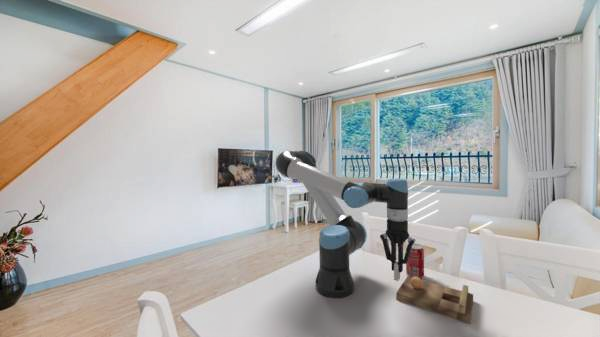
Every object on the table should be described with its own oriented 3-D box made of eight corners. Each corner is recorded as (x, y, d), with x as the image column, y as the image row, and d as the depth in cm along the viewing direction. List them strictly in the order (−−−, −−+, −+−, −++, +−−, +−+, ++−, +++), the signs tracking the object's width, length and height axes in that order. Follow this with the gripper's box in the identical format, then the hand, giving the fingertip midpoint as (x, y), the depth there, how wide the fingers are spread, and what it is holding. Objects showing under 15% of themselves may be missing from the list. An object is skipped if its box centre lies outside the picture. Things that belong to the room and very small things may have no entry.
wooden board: (396, 299, 89) (396, 285, 89) (407, 282, 101) (407, 270, 100) (470, 323, 75) (470, 308, 75) (473, 301, 87) (473, 287, 87)
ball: (409, 288, 91) (409, 278, 91) (411, 284, 94) (411, 274, 94) (420, 292, 89) (421, 281, 88) (423, 287, 92) (423, 277, 92)
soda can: (426, 280, 102) (426, 249, 102) (407, 278, 104) (408, 248, 103) (421, 272, 109) (421, 243, 108) (404, 271, 110) (404, 242, 110)
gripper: (377, 218, 96) (377, 278, 97) (412, 223, 88) (412, 288, 89) (383, 215, 102) (383, 271, 103) (417, 219, 94) (417, 280, 95)
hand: (397, 279), depth 96 cm, fingers closed
